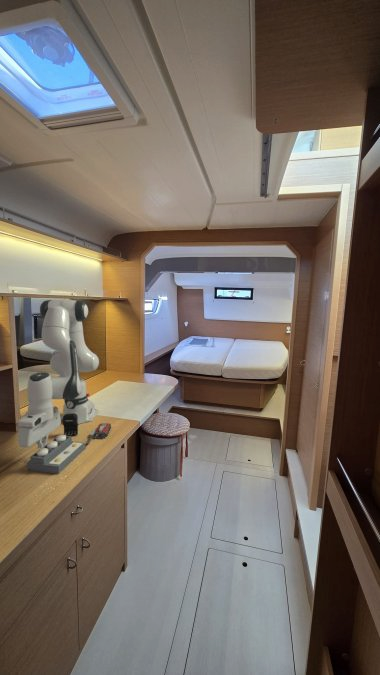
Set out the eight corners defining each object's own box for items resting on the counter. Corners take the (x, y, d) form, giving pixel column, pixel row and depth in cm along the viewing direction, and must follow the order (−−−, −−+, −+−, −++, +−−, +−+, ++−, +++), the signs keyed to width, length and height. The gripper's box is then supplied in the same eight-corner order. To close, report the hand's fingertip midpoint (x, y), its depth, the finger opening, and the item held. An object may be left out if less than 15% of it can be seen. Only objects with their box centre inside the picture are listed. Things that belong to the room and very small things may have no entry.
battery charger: (62, 437, 134) (61, 415, 133) (64, 434, 138) (63, 412, 137) (77, 436, 135) (76, 415, 134) (78, 433, 139) (78, 412, 138)
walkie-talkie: (95, 428, 146) (84, 447, 127) (95, 420, 146) (84, 438, 126) (112, 427, 147) (103, 446, 127) (112, 420, 147) (103, 437, 127)
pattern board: (57, 445, 126) (57, 434, 126) (85, 448, 124) (84, 437, 124) (26, 469, 108) (26, 456, 107) (58, 473, 106) (58, 460, 105)
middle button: (51, 445, 118) (51, 440, 118) (59, 445, 118) (59, 441, 117) (45, 449, 114) (44, 445, 114) (53, 450, 114) (53, 446, 113)
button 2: (59, 438, 124) (59, 434, 124) (67, 439, 123) (67, 435, 123) (54, 442, 120) (54, 438, 120) (62, 443, 119) (62, 439, 119)
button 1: (41, 452, 112) (41, 447, 112) (50, 453, 112) (50, 448, 111) (34, 457, 108) (34, 452, 108) (43, 458, 108) (43, 453, 107)
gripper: (51, 404, 119) (52, 434, 120) (13, 423, 99) (15, 459, 100) (64, 405, 118) (65, 435, 119) (29, 425, 98) (30, 461, 99)
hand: (42, 446), depth 109 cm, fingers closed
